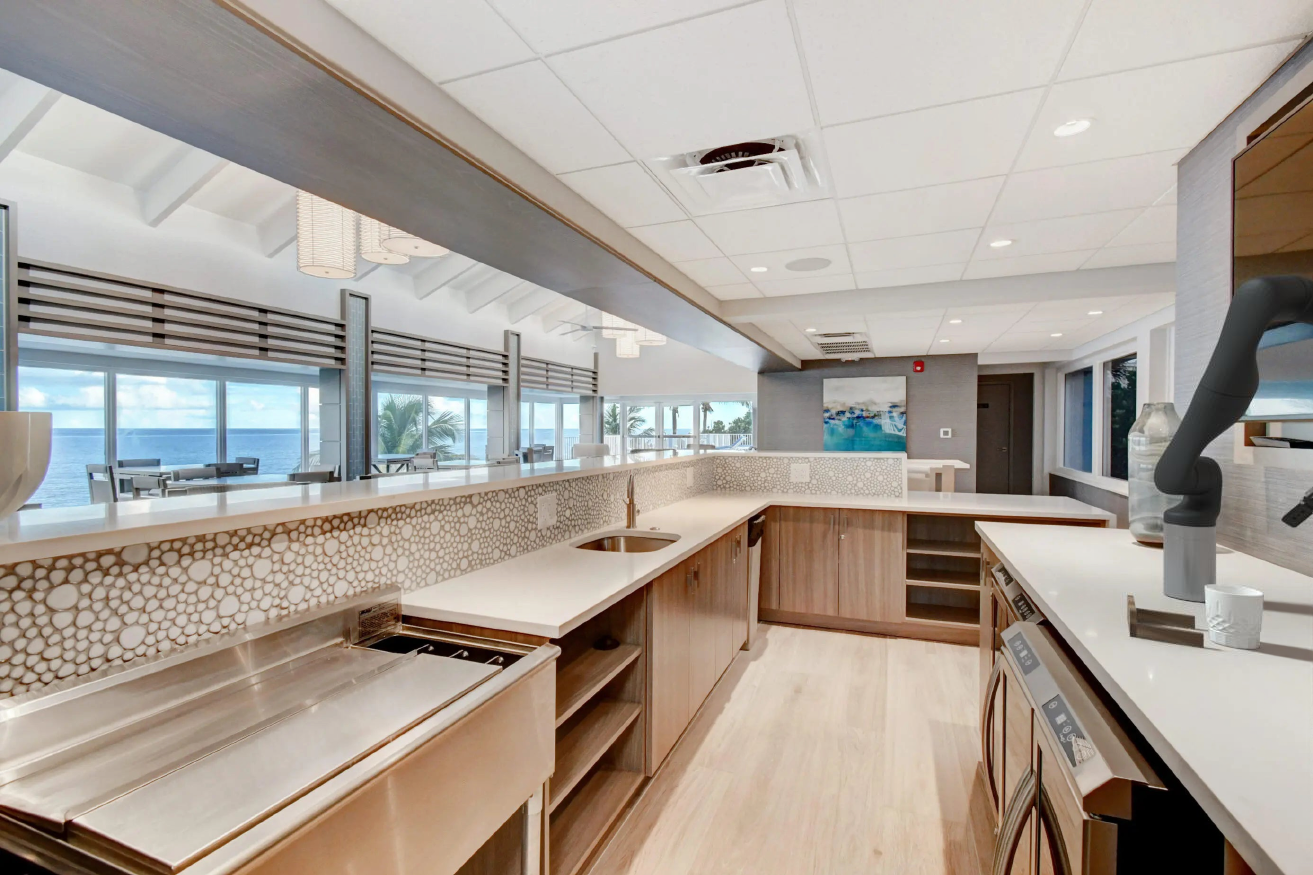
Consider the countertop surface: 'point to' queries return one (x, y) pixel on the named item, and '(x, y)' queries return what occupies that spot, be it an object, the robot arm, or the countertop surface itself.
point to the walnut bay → (1162, 632)
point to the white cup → (1234, 615)
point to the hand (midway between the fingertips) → (1287, 523)
